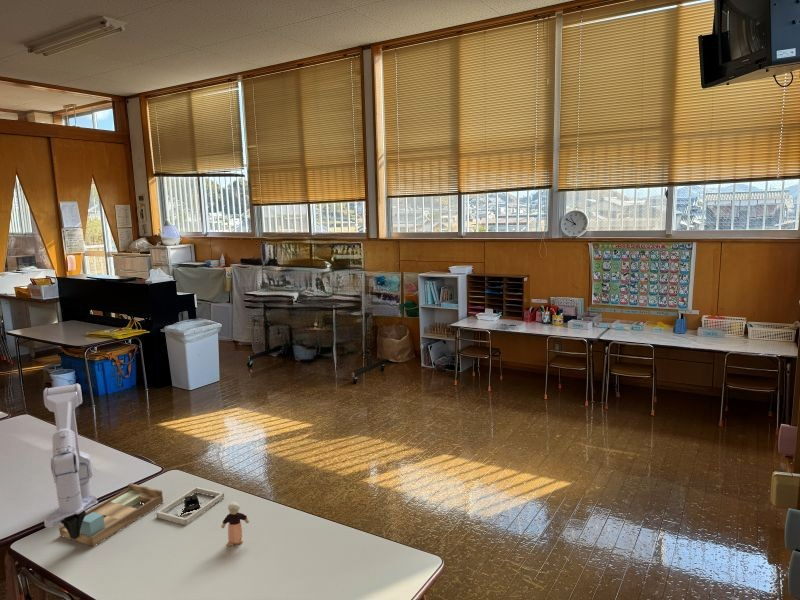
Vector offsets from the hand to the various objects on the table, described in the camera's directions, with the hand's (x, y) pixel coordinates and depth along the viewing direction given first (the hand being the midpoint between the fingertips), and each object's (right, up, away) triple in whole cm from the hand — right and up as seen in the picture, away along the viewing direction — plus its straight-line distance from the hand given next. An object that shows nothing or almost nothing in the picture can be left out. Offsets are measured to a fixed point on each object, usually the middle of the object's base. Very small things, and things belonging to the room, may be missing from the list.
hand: (75, 537), depth 159 cm
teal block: (+2, 0, +5) cm, 6 cm away
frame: (+26, 0, +21) cm, 33 cm away
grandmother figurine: (+46, -2, +2) cm, 47 cm away
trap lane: (+3, -1, +16) cm, 16 cm away
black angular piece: (+26, 0, +21) cm, 33 cm away
